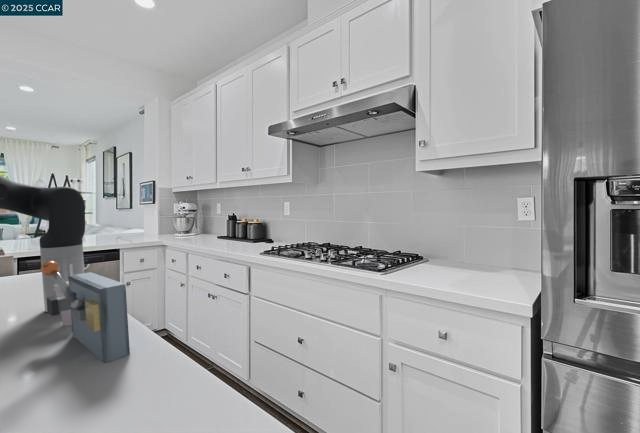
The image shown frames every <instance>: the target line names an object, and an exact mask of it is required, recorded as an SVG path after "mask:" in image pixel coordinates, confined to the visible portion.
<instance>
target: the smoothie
mask: <svg viewBox="0 0 640 433" xmlns="http://www.w3.org/2000/svg"><path fill="white" fill-rule="evenodd" d="M70 275H73V266H72V264H71V265H70ZM65 282H66V283H67V285H68V286H69V281H65ZM53 287H54V289H53V290H55V291H56V296H57V298H58V297H63V296H65V294H64V293H63V292H62V290H61V289H60V288H59V286H58V285H57V284H55V285H53ZM59 314H60V316H61V320H62V321H61V322H62V324H63V326H65V327H69V326H71V327H72V318H71V309H70V310H66V311H61V312H59Z"/></svg>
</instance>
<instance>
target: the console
mask: <svg viewBox="0 0 640 433" xmlns="http://www.w3.org/2000/svg"><path fill="white" fill-rule="evenodd" d="M68 277H69V288H70V289H71V290H72V292H73V293H74V294H75V296H76V297H77V298H78V299H80V300H82V301H83V302H84V306H83V308H81V309H80V310H75V309H71V318H72V325H71V328H72V330H71V331H72V337H73V338H74V339H76V340H77V341H78V342H79V343H80V344H81V345H83V346H84V347H85V348H87V350H89V351H90V352H91V353H92V354H94V355H95V356H96V357H97V358H98V359H99V360H100V361H102V362H103V363H104V364H106V363H109V362H112V361H114V360H117V359H122V358H123V357H126V356H129V355H131V351H130V339H129V338H130V336H129V332H130V331H129V321H128V320H129V318H128V317H129V316H128V302H127V290H126V289H127V287H126V283H124V282H120V281H118V280H115V279H111V278H109V277H105V276H102V275H100V274H98V273H95V272H88V271H87V272H85V273H82V274H76V275H70V276H68ZM87 300H93V301H95V302H97V303H99V304H100V316H101V330H99V331H96V332H94V331H93V330H92V329H90V328H89V327H87V325H86V311H85V301H87Z"/></svg>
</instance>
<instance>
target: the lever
mask: <svg viewBox="0 0 640 433" xmlns="http://www.w3.org/2000/svg"><path fill="white" fill-rule="evenodd" d="M40 266H41V265H40ZM59 268H60V267H59V264H58V263H57V262H54V261H48V262H45V263H44V264H43V265H42V266H41V267H40V271H41V274H42V273H43V274H45V275H48V276H51V277H52V278H53V280H54V281H55V282H56V284H57V285H58V286H59V288H60V289H61V290H62V292H63V293H64V294H65V296H66V297H67V298H68V300H69V301H70V302H69V306H70V307H72V308H73V309H75V310H80V309H81V308H83V306H84V302H83V301H82V300H80V299H78V298H77V297H76V296H75V294H74V293H73V292H72V290H71V289H70V288H69V286H68V285H67V283H66V282H65V281H64V279H63V278H62V277H61V275H60V274H59V272H58V271H59Z"/></svg>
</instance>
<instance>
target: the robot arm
mask: <svg viewBox="0 0 640 433" xmlns="http://www.w3.org/2000/svg"><path fill="white" fill-rule="evenodd" d="M85 205H86V204H85V201H84V197H83V195H82V194H81V193H80V192H79V191H78V190H77V189H75V188H73V187H70V186H56V187H54V186H53V187H44V186H43V187H42V186H35V185H31V184H25V183H19V182H16V181H13V180H11V179H8V178H6V177H4V176H3V175H0V209H1V210H6V211H11V212H13V213H14V212H15V213H18V214H22V215H25V216H29V217H32V218H35V219H36V218H37V219H38V220H43V221H46V222H48V229H47V231H46V232H45V233H44V234H43V235H42V236H40V237H39V250H40V263H41V265H40V266H42V265H43V264H44V263H45V262H48V261H54V262H57V263H58V264H59V267H60V268H59V271H58V272H59V274H60V275H61V277H62V278H63V279H64V281H69V277H68V276H70V265H71V264H72V266H73V275H76V274H82V273H86V272H85V260H84V259H85V258H84V249H83V248H84V246H83V237H84V236H85V233H86V206H85ZM41 276H42V289H43V303H44V312H45V313H48V310H47V297H52V296H53V297H55V298H57V296H56V291H55V290H53V289H54V287H53V285H55V284H56V282H55V281H54V280H53V278H52V277H51V276H48V275H45V274H43V273H42V272H41Z"/></svg>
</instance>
